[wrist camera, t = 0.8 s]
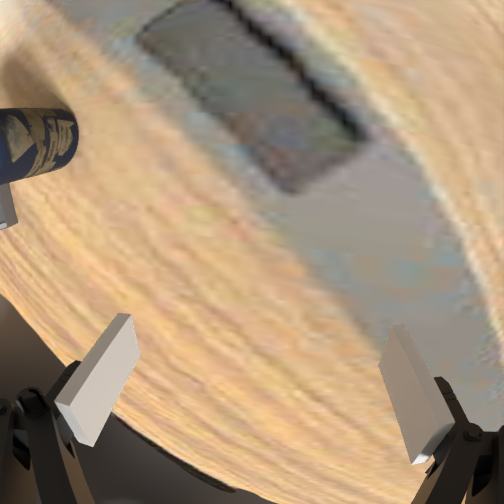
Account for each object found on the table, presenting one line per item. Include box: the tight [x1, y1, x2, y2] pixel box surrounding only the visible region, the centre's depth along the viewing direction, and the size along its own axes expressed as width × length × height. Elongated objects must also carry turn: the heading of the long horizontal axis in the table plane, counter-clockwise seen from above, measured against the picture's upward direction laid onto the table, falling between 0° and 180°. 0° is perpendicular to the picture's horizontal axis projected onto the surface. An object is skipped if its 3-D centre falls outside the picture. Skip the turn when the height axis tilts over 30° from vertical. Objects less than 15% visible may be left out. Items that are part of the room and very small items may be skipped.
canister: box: [0, 108, 79, 185], centre depth 30 cm, size 10×10×18 cm
